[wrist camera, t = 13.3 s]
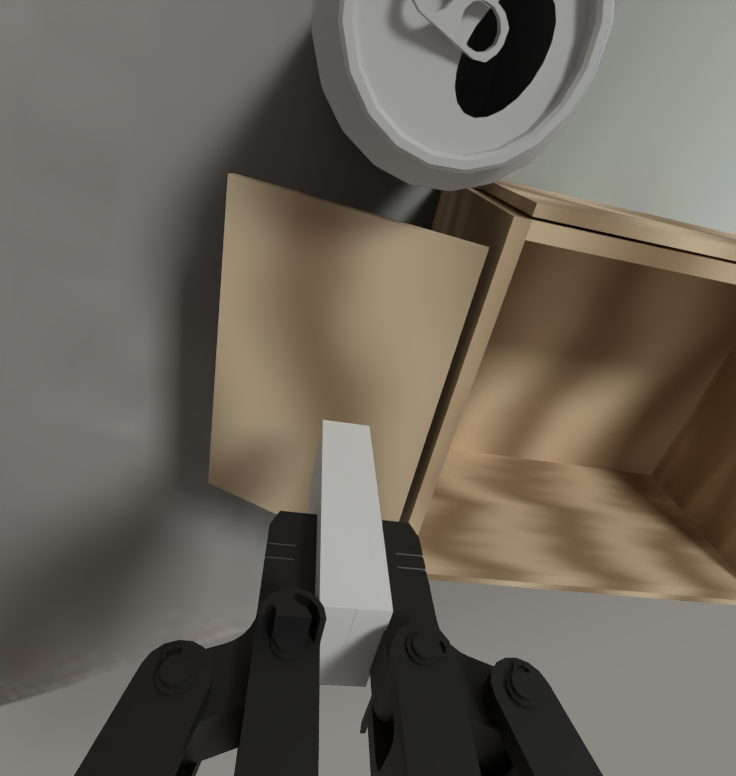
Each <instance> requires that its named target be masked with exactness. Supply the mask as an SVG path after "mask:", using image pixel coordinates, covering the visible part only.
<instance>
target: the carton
mask: <svg viewBox="0 0 736 776" xmlns="http://www.w3.org/2000/svg"><path fill="white" fill-rule="evenodd" d="M431 230H432V231H435V232H439V233H442V234H446V235H449V236H452V237H456V238H459V239H463V240H466V241H470V242H473V243H477V244H480V245H484V246H487V247H489V250H488V253H487V256H486V259H485V262H484V265H483V268H482V271H481V274H480V277H479V280H478V283H477V286H476V289H475V292H474V295H473V298H472V301H471V304H470V307H469V310H468V313H467V316H466V319H465V322H464V325H463V328H462V331H461V334H460V337H459V341H458V344H457V347H456V350H455V353H454V356H453V359H452V362H451V365H450V368H449V371H448V374H447V377H446V380H445V383H444V386H443V389H442V392H441V395H440V398H439V401H438V404H437V407H436V410H435V413H434V416H433V419H432V422H431V425H430V428H429V431H428V434H427V437H426V441H425V444H424V447H423V450H422V453H421V456H420V459H419V462H418V465H417V468H416V471H415V474H414V477H413V480H412V483H411V486H410V489H409V492H408V495H407V498H406V501H405V504H404V507H403V510H402V513H401V516H400V519H399V522H407V523H410V525H411V526H412V528H413V529H414V531H415V532H416V534H417V535H418V537H419V539H420V544H421V548H422V553H423V558H424V563H425V567H426V569H425V571H426V572H427V577H428V579H430V580H442V581H454V582H467V583H479V584H490V585H502V586H514V587H526V588H537V589H550V590H561V591H574V592H585V593H598V594H610V595H621V596H622V595H623V596H633V597H646V598H658V599H670V600H681V601H693V602H705V603H718V604H729V605H736V234H731V233H727V232H723V231H718V230H714V229H710V228H705V227H701V226H697V225H692V224H688V223H684V222H679V221H675V220H671V219H666V218H662V217H658V216H653V215H649V214H645V213H640V212H636V211H632V210H627V209H623V208H619V207H614V206H610V205H606V204H602V203H597V202H593V201H589V200H584V199H580V198H576V197H571V196H567V195H563V194H558V193H554V192H550V191H545V190H541V189H537V188H532V187H528V186H524V185H519V184H515V183H511V182H506V181H502V180H497V181H495V182H493V183H491V184H487V185H481V186H476V187H471V188H465V189H460V190H454V191H445V190H441V194H440V198H439V201H438V205H437V209H436V213H435V216H434V220H433V224H432V228H431Z"/></svg>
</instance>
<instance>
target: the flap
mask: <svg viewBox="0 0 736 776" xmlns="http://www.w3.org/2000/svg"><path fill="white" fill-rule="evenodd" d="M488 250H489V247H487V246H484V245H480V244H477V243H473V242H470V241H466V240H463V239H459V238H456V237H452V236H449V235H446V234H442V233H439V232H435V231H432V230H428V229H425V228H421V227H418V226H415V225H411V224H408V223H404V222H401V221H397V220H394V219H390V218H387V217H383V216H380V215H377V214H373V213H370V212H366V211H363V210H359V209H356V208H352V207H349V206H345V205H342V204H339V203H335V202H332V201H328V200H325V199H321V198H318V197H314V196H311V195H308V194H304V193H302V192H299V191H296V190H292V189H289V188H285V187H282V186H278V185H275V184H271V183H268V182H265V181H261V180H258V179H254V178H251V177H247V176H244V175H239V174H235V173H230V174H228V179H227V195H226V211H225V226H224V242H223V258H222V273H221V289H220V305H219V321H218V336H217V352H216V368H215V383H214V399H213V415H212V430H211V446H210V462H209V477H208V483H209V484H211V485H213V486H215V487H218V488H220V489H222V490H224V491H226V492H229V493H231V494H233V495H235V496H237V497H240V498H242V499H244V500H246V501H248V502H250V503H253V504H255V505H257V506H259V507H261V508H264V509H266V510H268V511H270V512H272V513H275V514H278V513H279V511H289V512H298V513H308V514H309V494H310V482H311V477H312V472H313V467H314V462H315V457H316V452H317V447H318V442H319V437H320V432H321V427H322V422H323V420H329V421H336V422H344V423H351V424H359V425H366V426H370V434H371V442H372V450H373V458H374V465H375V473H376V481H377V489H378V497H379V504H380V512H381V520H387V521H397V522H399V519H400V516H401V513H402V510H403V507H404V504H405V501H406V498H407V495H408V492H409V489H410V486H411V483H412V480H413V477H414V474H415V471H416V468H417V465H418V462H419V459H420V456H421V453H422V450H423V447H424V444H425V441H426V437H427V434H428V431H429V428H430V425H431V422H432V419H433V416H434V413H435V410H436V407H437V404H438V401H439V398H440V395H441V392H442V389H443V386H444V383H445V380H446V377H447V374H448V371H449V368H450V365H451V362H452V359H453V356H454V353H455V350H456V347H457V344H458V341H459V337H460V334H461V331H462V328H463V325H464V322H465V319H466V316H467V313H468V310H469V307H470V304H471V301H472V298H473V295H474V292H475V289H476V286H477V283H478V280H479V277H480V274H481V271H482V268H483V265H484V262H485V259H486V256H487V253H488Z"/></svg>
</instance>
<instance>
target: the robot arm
mask: <svg viewBox="0 0 736 776" xmlns="http://www.w3.org/2000/svg"><path fill="white" fill-rule="evenodd" d="M425 569H426V567H425V563H424V558H423V553H422V548H421V544H420V539H419V537H418V535H417V534H416V532H415V531H414V529H413V528H412V526H411V525H410V523H407V522H397V521H387V520H381V512H380V504H379V497H378V489H377V481H376V473H375V465H374V458H373V450H372V442H371V434H370V426H366V425H359V424H351V423H344V422H336V421H329V420H323V422H322V427H321V432H320V437H319V442H318V447H317V452H316V457H315V462H314V467H313V472H312V477H311V482H310V494H309V514H308V513H298V512H289V511H279V513H278V514H277V515H276V517H275V518H274V520H273V521H272V522H271V524H270V527H269V534H268V540H267V547H266V553H265V560H264V567H263V574H262V581H261V588H260V595H259V602H258V609H257V615H256V619H255V620H254V622H253V624H252V625H251V627H250V628H249V629H248V630H247V631H246V632H245V633H244V634H243V635H241V636H240V637H238V638H237V639H235V640H233V641H231V642H228V643H225V644H222V645H218V646H214V647H211V648H207V649H205V648H204V647H202V646H201V645H199V644H197V643H195V642H193V641H185V640H177V641H173V642H169V643H165V644H163V645H162V646H160V647H158V648H157V649H155V650H154V651H152V652H151V653H150V654H149V655H148V656H147V658H146V659H145V660H144V661H143V662H142V664H141V665H140V667H139V668H138V670H137V672H136V673H135V675H134V677H133V678H132V680H131V682H130V683H129V685H128V687H127V688H126V690H125V692H124V693H123V695H122V697H121V699H120V700H119V702H118V703H117V705H116V707H115V708H114V710H113V712H112V713H111V715H110V717H109V718H108V720H107V722H106V723H105V725H104V727H103V729H102V730H101V732H100V733H99V735H98V737H97V738H96V740H95V742H94V743H93V745H92V747H91V748H90V750H89V752H88V754H87V755H86V757H85V759H84V760H83V762H82V764H81V765H80V767H79V768H78V770H77V772H76V773H75V775H74V776H196V773H197V771H198V768H199V766H200V763H201V761H202V760H205V759H208V758H210V757H213V756H216V755H219V754H221V753H224V752H227V751H230V750H232V749H235V748H238V750H237V758H236V765H235V772H234V776H318V757H319V755H318V753H319V752H318V751H319V685H339V686H363V687H365V686H366V684H367V681H368V679H369V675H370V678H371V691H372V696H371V699H370V701H369V704H368V707H367V709H366V712H365V714H364V717H363V719H362V722H361V730H360V733H365V732H366V730H367V727H368V737H369V754H370V770H371V776H603V775H602V773H601V772H600V770H599V768H598V767H597V765H596V763H595V761H594V760H593V758H592V756H591V755H590V753H589V751H588V749H587V748H586V746H585V744H584V743H583V741H582V739H581V738H580V736H579V734H578V733H577V731H576V729H575V728H574V726H573V724H572V722H571V721H570V719H569V717H568V716H567V714H566V712H565V711H564V709H563V707H562V705H561V704H560V702H559V700H558V699H557V697H556V695H555V694H554V692H553V691H552V688H551V687H550V685H549V684H548V682H547V681H546V679H545V678H544V677H543V675H542V674H541V673H540V672H539V671H538V670H537V669H536V668H534V667H533V666H532V665H530V664H529V663H528V662H525V661H523V660H520V659H518V658H504V659H502V660H500V661H498V662H496V664H495V666H491V665H489V664H486V663H484V662H481V661H479V660H476V659H474V658H471V657H469V656H466V655H465V654H462V653H461V652H459V651H458V650H457V649H455V648H454V647H453V646H451V644H450V642H449V640H448V639H447V638H446V637H445V636H444V634H443V633H442V632H441V631H440V629H439V626H438V623H437V620H436V616H435V610H434V605H433V602H432V596H431V592H430V586H429V582H428V577H427V572H426V571H425Z"/></svg>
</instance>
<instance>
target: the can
mask: <svg viewBox="0 0 736 776" xmlns="http://www.w3.org/2000/svg"><path fill="white" fill-rule="evenodd" d="M614 6H615V0H313V12H312V25H311V32H312V37H313V43H314V48H315V54H316V59H317V65H318V70H319V76H320V82H321V86H322V89H323V92H324V94H325V96H326V98H327V100H328V103H329V105H330V107H331V109H332V111H333V113H334V115H335V117H336V119H337V121H338V123H339V125H340V127H341V128H342V130H343V132H344V133H345V134H346V135H347V136H348V137H349V138H350V139H351V141H352V142H353V143H354V144H355V145H356V146H357V147H358V148H359V149H360V150H361V151H362V152H363V154H364V155H365V156H366V157H367V158H368V159H369V160H370V161H371V162H372V163H373V164H374V165H375V166H377V167H379V168H380V169H382V170H384V171H386V172H388V173H390V174H391V175H393V176H395V177H397V178H399V179H400V180H402V181H404V182H406V183H408V184H410V185H414V186H420V187H426V188H433V189H439V190H445V191H454V190H460V189H465V188H471V187H476V186H481V185H487V184H491V183H493V182H495V181H497V180H499V179H500V178H502V177H504V176H506V175H508V174H510V173H512V172H513V171H515V170H517V169H519V168H521V167H523V166H525V165H526V164H528V163H530V162H531V161H532V160H533V159H534V158H535V157H536V156H537V155H538V154H539V153H540V152H541V151H542V150H543V149H544V148H545V147H546V146H547V145H548V144H549V143H550V142H551V141H552V140H553V139H554V138H555V137H556V136H557V135H558V134H560V133H561V132H562V131H563V130H564V128H565V126H566V125H567V123H568V121H569V120H570V118H571V117H572V115H573V113H574V112H575V110H576V108H577V107H578V105H579V103H580V102H581V100H582V99H583V97H584V95H585V94H586V92H587V90H588V89H589V87H590V85H591V83H592V80H593V78H594V77H595V75H596V73H597V71H598V68H599V65H600V62H601V58H602V55H603V52H604V49H605V46H606V43H607V40H608V37H609V34H610V31H611V28H612V25H613V19H614Z"/></svg>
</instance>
